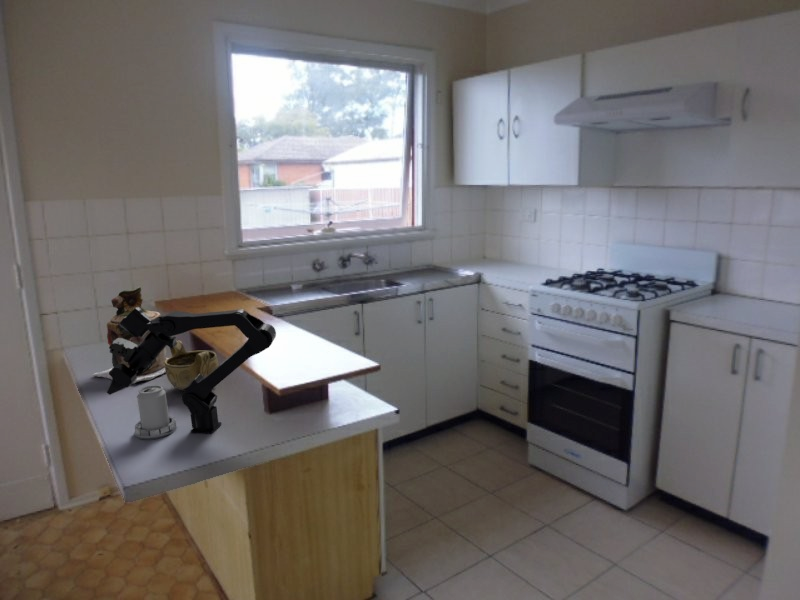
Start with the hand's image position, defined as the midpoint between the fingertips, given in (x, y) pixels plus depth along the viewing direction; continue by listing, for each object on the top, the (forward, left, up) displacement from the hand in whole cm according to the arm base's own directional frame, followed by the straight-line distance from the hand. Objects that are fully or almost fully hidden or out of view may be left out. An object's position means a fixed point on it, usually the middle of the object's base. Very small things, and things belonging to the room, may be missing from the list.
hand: (115, 387), depth 169 cm
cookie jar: (+27, -50, -14) cm, 59 cm away
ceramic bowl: (-3, -35, -14) cm, 38 cm away
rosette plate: (-9, -2, -14) cm, 17 cm away
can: (-9, -2, -13) cm, 16 cm away
